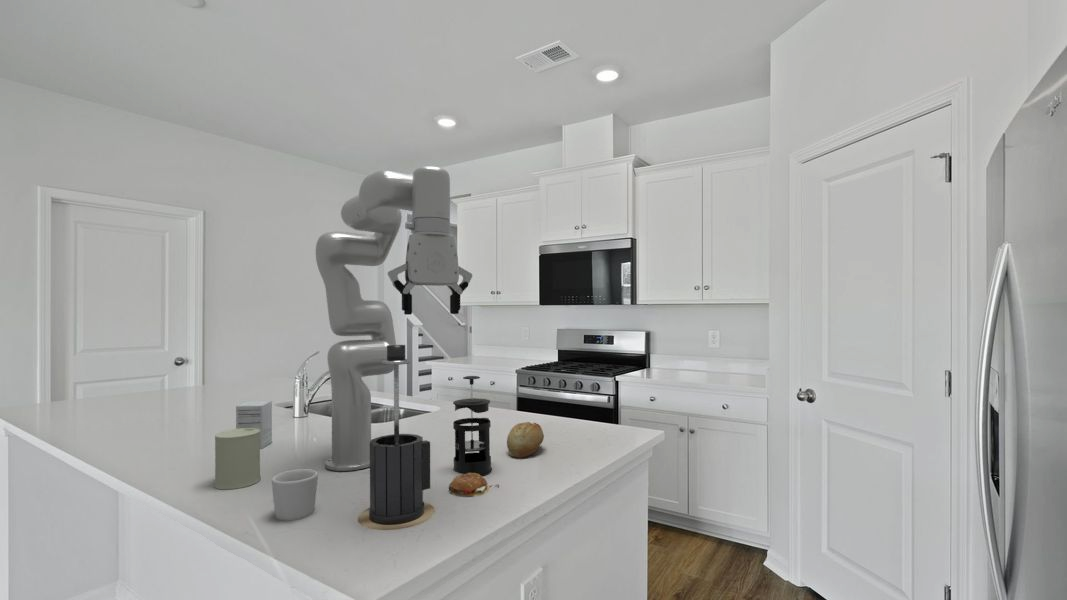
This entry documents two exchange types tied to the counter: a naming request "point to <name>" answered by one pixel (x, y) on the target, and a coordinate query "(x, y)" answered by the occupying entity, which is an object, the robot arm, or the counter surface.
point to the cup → (294, 493)
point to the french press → (472, 461)
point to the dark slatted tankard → (398, 478)
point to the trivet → (428, 513)
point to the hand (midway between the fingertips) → (431, 314)
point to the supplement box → (256, 419)
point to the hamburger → (469, 485)
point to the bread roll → (524, 439)
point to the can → (237, 458)
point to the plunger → (396, 380)
